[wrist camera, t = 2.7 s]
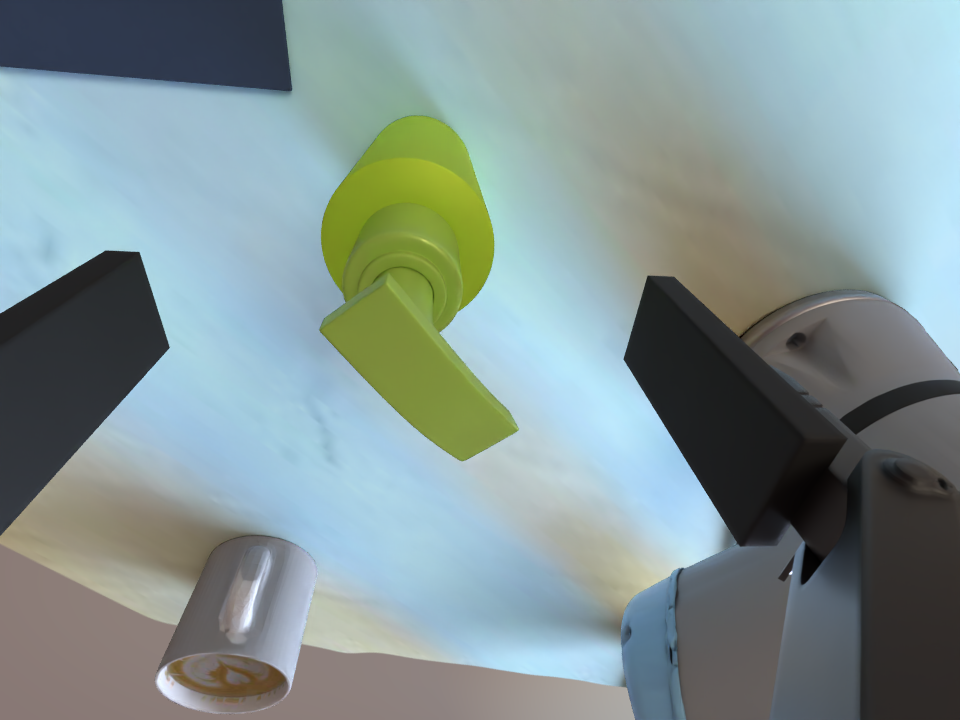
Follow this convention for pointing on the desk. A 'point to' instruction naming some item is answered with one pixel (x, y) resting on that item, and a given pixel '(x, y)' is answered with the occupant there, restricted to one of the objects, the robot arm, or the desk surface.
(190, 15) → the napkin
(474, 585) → the desk surface
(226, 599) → the coffee mug
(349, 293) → the soap dispenser
